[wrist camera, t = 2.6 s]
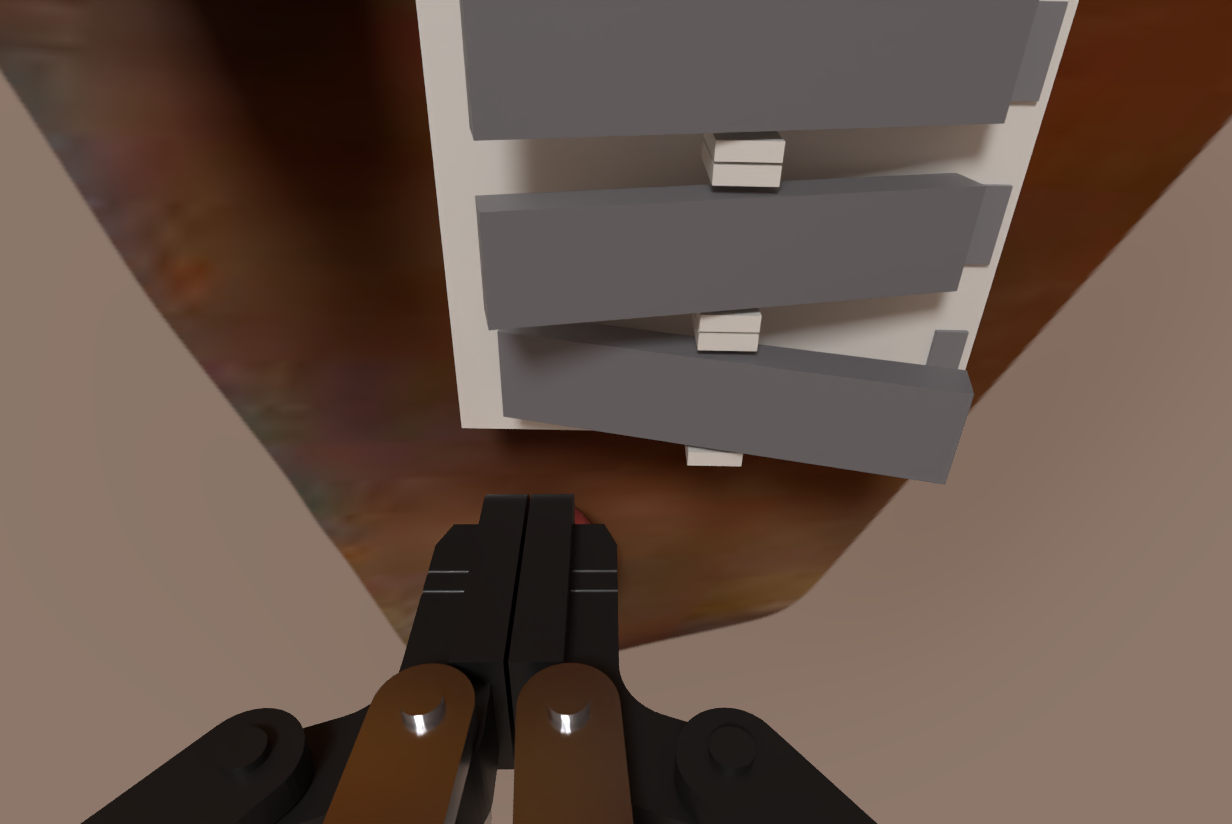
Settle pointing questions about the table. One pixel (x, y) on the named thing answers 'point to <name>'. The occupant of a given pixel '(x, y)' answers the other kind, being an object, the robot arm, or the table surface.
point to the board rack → (761, 159)
